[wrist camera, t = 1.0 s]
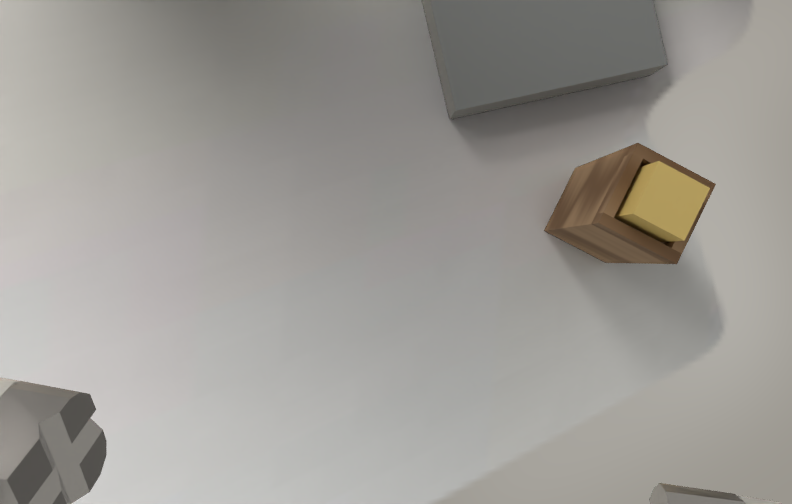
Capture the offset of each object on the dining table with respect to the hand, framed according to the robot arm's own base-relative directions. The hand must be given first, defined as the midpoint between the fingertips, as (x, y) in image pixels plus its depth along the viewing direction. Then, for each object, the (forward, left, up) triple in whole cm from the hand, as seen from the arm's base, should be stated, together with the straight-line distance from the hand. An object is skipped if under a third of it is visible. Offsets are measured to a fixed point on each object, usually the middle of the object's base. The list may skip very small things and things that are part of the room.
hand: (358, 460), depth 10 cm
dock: (-19, +18, -40) cm, 48 cm away
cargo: (-2, +19, -30) cm, 36 cm away
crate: (-2, +19, -40) cm, 45 cm away
